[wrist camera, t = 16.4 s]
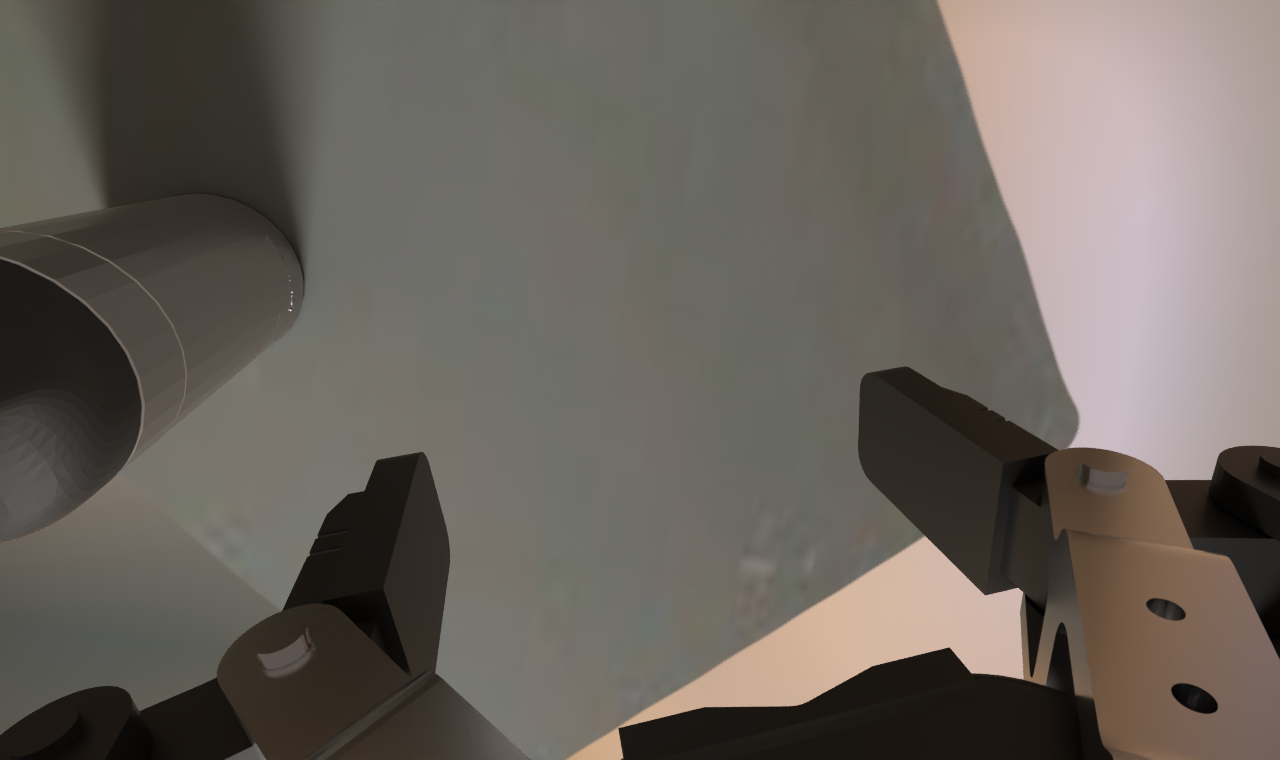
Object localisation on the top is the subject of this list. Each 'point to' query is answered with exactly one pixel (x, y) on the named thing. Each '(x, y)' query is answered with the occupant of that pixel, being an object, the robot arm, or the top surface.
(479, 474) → the top surface
